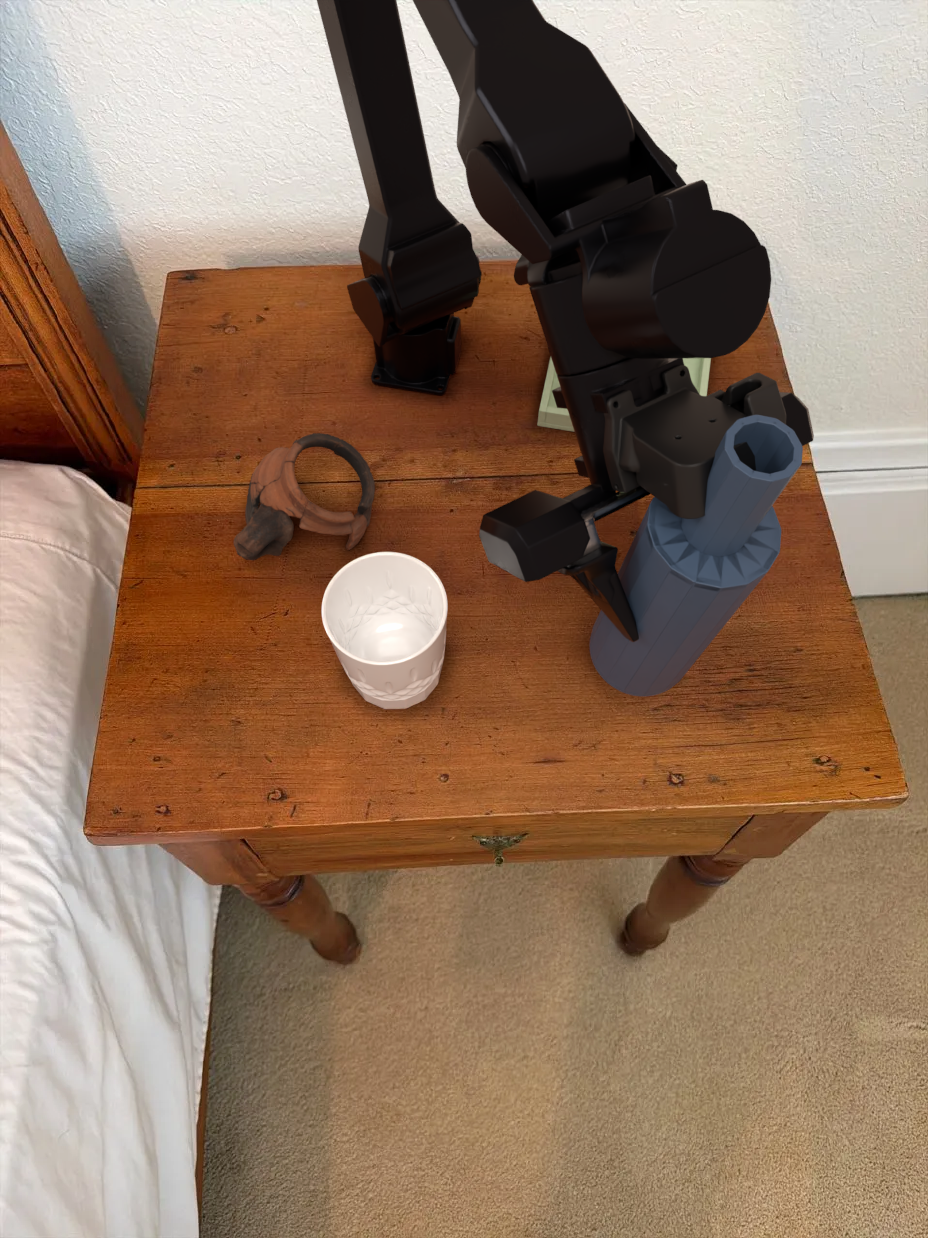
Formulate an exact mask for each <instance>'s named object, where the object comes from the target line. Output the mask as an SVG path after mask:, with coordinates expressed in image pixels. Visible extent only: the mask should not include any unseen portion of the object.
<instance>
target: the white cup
mask: <svg viewBox="0 0 928 1238" xmlns="http://www.w3.org/2000/svg"><path fill="white" fill-rule="evenodd" d="M322 597H323V598H322V600H321V601H322V602H321V611H320V612H321V620H322V625H323V628H324V630H325V633H326V635H327V637H328V639H329V641H330V643H331V645H332V648H333V650H334V653H335V654H336V657H337V659H338V661H339V663H340V665H341V666H342V668H343V670H344V672H345V674H346V676H347V677H348V678H349V681H350V682H351V684H352V686H353V688H354V689H355V690H356V691H357V693H359V695H360V696H361V697H362V698H363V700H364V701H365V702H368V703H370V704H372V705H374V706H376V707H379V708H381V709H384V710H406V709H408V708H411V707H413V706H415V705H417V704H419V703H421V702H424V701H425V700H426V699H427V698H428V697H429V696H430V695H431V694H432V692H433V691H434V690H435V688H436V687H437V686H438V685H439V683H440V677H441V673H442V670H443V665H444V660H445V652H446V641H447V628H448V627H447V626H448V608H449V605H448V602H449V601H448V596H447V592H446V589H445V586H444V584H443V582H442V580H441V578H440V577H439V576H438V575H437V573H436V572H435V571H434V570H433V569H432V568H431V566H429V565H428V564H427V563H425V562H424V561H422V560H420V559H418V558H417V557H415V556H412V555H409V554H407V553H403V552H396V551H378V552H372V553H371V552H370V553H367V554H365V555H362V556H358V557H357V558H355V559H353V560H351V561H350V562H348V563H347V564H345V565H344V566H342V567H341V568H340V569H338V571H337V572H336V573H335V574H334V576H333V577H332V578H331V579H330V581H329V583H328V585H327V586H326V588H325V591H324V594H323V596H322Z"/></svg>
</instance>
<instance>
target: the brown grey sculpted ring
mask: <svg viewBox="0 0 928 1238" xmlns="http://www.w3.org/2000/svg"><path fill="white" fill-rule="evenodd" d="M311 448H323V449H328V450H330V451H332V452H333V454H334V455H336V456H338V457H341V459H343V460H345V461H346V462H347V463H348V464H349V465H350V466H351V468H353V470H354V472H355V473H356V475H357V477H358V479H359V482H360V485H361V497H360V501H359V503H358V505H357V512H356V513H355V514H354V513H353V512H352V511H349V510H347V511H332V510H328V509H325V508H323V507H321V506H319V505H318V504H316V503H314V502H313V501H311V500H309V498H308V497H307V496H306V494H305V493H304V492H303V490H302V488H301V487H300V485H299V483H298V481H297V477H296V472H295V466H296V465H295V464H296V461H297V458H298V457H299V455H300V454H301V453H302V452H303V451H304V450H307V449H311ZM373 476H374V475H373V473H372V471H371V467H370V465H369V464H368V462H367V460H365V458H364V457H363V456H362V453H361V452H360V451H358V450H357V449H356V448H355V447H354V446H353V445H352V444H350V443H348V442H347V441H346V440H344V439H342V438H339V437H338V436H334V435H331V434H329V433H321V432H314V433H311V434H307V435H303V436H302V437H299V439H296V440H294V441H293V443H292V445H291V446H290V447H287V446H286V447H285V446H284V447H283V446H280V447H275V448H274V449H272V450H271V451H270V452H269V453H267V454H266V455H265V456H264V457H262V459H261V460H260V461H259V463H258V465H256V466H255V468H254V470H253V473H252V474H251V477H250V481H249V484H248V490H247V496H246V505H245V510H244V511H245V512H244V516H245V524H246V525H245V526H244V527H243V529H242V530H241V531H240V532H239V533H237V534H236V535H235V536H234V539H233V546H234V548H235V551H236V554H237V555H238V556H239V557H241V558H243V559H244V560H247V561H256V560H258V559H261V557H263V556H267V555H268V556H269V555H270V556H275V557H280V556H282V552H283V549H284V547H286V546H287V545H288V544H289V542H291V540H292V539H293V535H294V529H295V528H294V526H295V525H294V522H293V520H292V519H291V518H290V517H294V518H297V519H299V525H298V526H299V528H300V529H301V530H306V531H308V532H309V531H310V532H313V533H318V534H321V535H333V536H345V535H348V539H347V542H346V544H345V549H346V550H347V551H350V550H352V549H353V548H354V547H356V546H357V545H358V544H359V542H360V541H361V539H362V538H363V537H364V535H365V532H366V530H367V528H368V527H369V526H370V523H371V518H372V517H371V516H372V510H373V509H372V508H373V503H374V501H375V500H374V499H375V493H376V483H375V479H374V477H373Z"/></svg>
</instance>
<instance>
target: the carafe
mask: <svg viewBox="0 0 928 1238" xmlns="http://www.w3.org/2000/svg"><path fill="white" fill-rule="evenodd" d="M743 442H747V444H748V445H749V447H750V449H751V450H752V452H753V454H754V456H755V464H756V471H754V470H752V469H751V468H749V467H748V466H747V465H745V464H744V463H742V462H741V461H740V460H739V458H738V456H737V454H736V452H735V450H734V445H736V444H739V443H743ZM803 450H804V446H802V444H801V443H800V441H799V439H798V437H797V435H796V434H795V432H794V431H793V429H791V428H790V427H788V426H787V425H785V424H784V423H783V422H781V421H780V420H778V419H776V418H772V417H767V416H762V415H752V416H748V417H744V418H740V419H738V420H737V421H736V422H735V423H734V424H733V425H732V426H731V427H730V428H729V429H728V430H727V431H726V433H725V435H724V437H723V439H722V441H721V442H720V444H719V446H718V448H717V450H716V452H715V458H714V461H713V464H712V467H711V470H710V473H709V476H708V482H707V493H706V504H705V516H703V517H700V518H696V519H684V518H681V517H678V516H676V515H675V514H673V513H672V512H671V511H670V510H669V508H668V506H667V505H665V504H664V503H663V502H661V501H660V500H659V499H657V498H656V497H655V496H653V498H652V500H651V501H650V503H649V505H648V507H647V509H646V511H645V513H644V515H643V518H642V519H641V522H640V524H639V526H638V528H637V531H636V532H635V535H634V537H633V540H632V542H631V544H630V546H629V548H628V550H627V552H626V554H625V557H624V559H623V561H622V563H621V565H620V567H619V570H618V571H617V573H618V576H619V579H620V581H621V584H622V587H623V589H624V592H625V594H626V597H627V600H628V602H629V605H630V607H631V610H632V613H633V615H634V618H635V621H636V626H637V630H638V635H639V640H637V641H635V642H632V641H630V640H628V639H626V638H625V637H624V636H623V635H622V633H621V632H620V631H619V630H618V629H617V628H616V626H615V625H614V624H613V623H612V622H611V621H610V619H609V618H608V617H607V616H606V615H605V614H604V613H603V611H602V610H601V609H600V611H599V613H598V615H597V618H596V619H595V622H594V624H593V626H592V629H591V633H590V637H589V645H588V647H589V655H590V660H591V662H592V665H593V666H594V669H595V671H596V672H597V673H598V675H599V676H600V677H601V678H602V679H603V681H604V682H606V684H608V685H609V686H611V687H612V688H613V689H615V690H617V691H619V692H621V693H623V694H626V695H629V696H634V697H642V698H643V697H653V696H657V695H658V696H659V695H661V694H663V693H665V692H667V691H670V690H671V689H672V688H673V687H675V686H676V684H678V683H679V682H681V680H682V679H683V677H684V676H685V675H686V674H687V673H688V672H689V670H690V669H691V668H692V667H693V665H695V663H696V662H697V660H698V659H699V658H700V656H702V655H703V653H704V652H705V651H706V649H707V648H708V646H709V645H710V644H711V643H712V642H713V641H714V640H715V638H716V637H717V636H718V635H719V633H720V632H721V630H722V629H723V628H724V627H725V626H726V625H727V623H728V622H729V621H730V619H731V618H732V617H733V616H734V614H736V612H737V611H738V609H739V608H740V607H741V606H742V605H743V603H744V602H745V601H746V599H748V597H749V596H750V595H751V593H752V592H753V591H754V589H755V588H757V587H758V585H759V584H760V582H761V581H762V580H763V578H764V577H765V576H766V575H767V573H768V572H769V571H770V569H771V567H772V566H773V564H774V563H775V562H776V560H777V558H778V556H779V554H780V552H781V544H782V543H781V542H782V540H781V539H782V526H781V523H780V522H779V519H778V516H777V512H776V509H775V507H773V505H774V504H775V503H776V502H777V500H778V499H779V497H780V495H781V494H783V493H782V492H784V490H785V488H786V487H787V486H788V484H789V483H790V481H792V478H793V477H794V476H795V474H796V473H797V472H798V470H799V469H800V467H801V466H802V464H803V452H804V451H803Z"/></svg>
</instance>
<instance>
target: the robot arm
mask: <svg viewBox="0 0 928 1238" xmlns="http://www.w3.org/2000/svg"><path fill="white" fill-rule="evenodd" d="M412 2H413V4H414V6H415V8H416V10H417V12H418V14H419V16H420V18H421V20H422V22H423V24H424V26H425V29H426V30H427V32H428V34H429V36H430V38H431V40H432V42H433V44H434V46H435V48H436V50H437V52H438V54H439V56H440V58H441V60H442V62H443V64H444V66H445V68H446V70H447V72H448V73H449V76H450V79H451V81H452V84H453V86H454V88H455V91H456V93H457V96H458V100H459V101H458V115H457V131H456V133H457V134H456V148H457V151H458V154H459V156H460V158H461V162H462V163H463V166H464V168H465V176H466V177H465V178H466V182H467V187H468V190H469V194H470V197H471V199H472V202H473V204H474V207H475V209H476V210H477V212H478V214H479V216H480V217H481V218H482V219H483V221H484V222H485V223H486V224H487V225H488V226H489V227H490V228H492V229H493V230H494V231H495V232H496V233H497V234H498V235H499V236H501V238H503V239H504V240H505V241H506V242H507V243H509V245H510V246H511V247H513V248H514V249H515V250H516V251H517V252H518V253H519V254H520V257H519V258H518V260H517V262H516V264H515V268H514V272H513V280H514V282H515V284H516V285H518V286H524V285H528V286H529V292H530V295H531V298H532V301H533V305H534V307H535V311H536V314H537V317H538V320H539V323H540V326H541V330H542V333H543V336H544V338H545V339H544V340H545V343H546V345H547V348H548V352H549V356H550V357H551V358H552V362H553V365H554V368H555V371H556V374H557V378H558V381H559V384H560V387H558V388H556V389H554V390H552V393H553V396H554V399H555V402H556V405H557V408H565V409H568V412H569V416H570V419H571V422H572V425H573V428H574V431H575V432H574V434H575V437H576V441H577V444H578V448H579V450H580V454H581V455H579V456H577V457H576V458H574V459H573V461H574V465H575V468H576V471H577V474H578V476H580V477H583V478H587V479H589V482H590V484H589V485H587V486H584V487H583V488H581V489H579V490H577V491H575V492H572V493H570V494H568V495H566V496H565V497H559V496H556V495H553V494H551V493H547V492H544V491H541V490H538V489H534V490H532V491H529V492H528V493H526V494H524V495H521V496H520V497H519V496H518V497H517V498H515V499H513V500H511V501H509V502H507V503H504V504H503V505H501V506H498V507H496V508H494V509H493V510H491V511H488V512H487V513H484V514H483V515H482V519H481V522H480V526H479V530H478V531H479V533H478V537H479V539H480V542H481V545H482V548H483V550H484V553H485V555H486V556H485V557H486V558H487V561H488V562H489V563H490V564H492V565H494V566H496V567H497V568H499V569H500V570H503V571H505V572H507V573H508V574H510V575H512V576H514V577H515V578H517V579H519V580H521V581H523V582H524V583H529V582H534V581H540V580H542V579H545V578H546V577H548V576H551V574H554V573H556V572H557V573H560V574H561V575H564V576H570V578H572V579H573V580H574V581H575V582H576V583H577V584H578V586H580V587H581V588H582V590H583V591H584V592H585V593H586V594H587V595H588V596H589V598H590V599H591V600H592V601H593V602H594V604H595V605H596V606H597V607H598V608H599V609H600V611H601V610H602V611H603V613H604V614H605V615H606V616H607V617H608V618H609V619H610V621H611V622H612V623H613V624H614V625H615V626H616V628H617V629H618V630H619V631H620V632H621V633H622V635H623V636H624V637H625V638H626V639H628V640H630V641H632V642H635V641H637V640H639V635H638V630H637V626H636V621H635V618H634V615H633V613H632V610H631V607H630V605H629V602H628V600H627V597H626V594H625V592H624V589H623V587H622V584H621V581H620V579H619V576H618V571H617V567H616V562H617V557H618V551H619V548H618V547H617V546H615V545H613V544H609V543H608V542H604V541H602V540H601V539H600V536H599V533H598V532H599V531H598V530H597V527H596V522H597V521H599V520H602V519H603V518H606V517H607V516H610V515H611V514H612V515H613V514H614V513H615V512H618V511H620V510H622V509H624V508H626V507H628V506H630V505H631V504H634V503H635V502H637V501H640V500H642V499H643V498H646V497H647V496H650V495H652V496H653V497H656V498H657V499H659V500H660V501H661V502H663V503H664V504H665V505H667V506H668V508H669V510H670V511H671V512H672V513H673V514H675V515H676V516H678V517H681V518H684V519H696V518H700V517H703V516H705V504H706V493H707V482H708V476H709V473H710V470H711V467H712V464H713V461H714V458H715V452H716V450H717V448H718V446H719V444H720V442H721V441H722V439H723V437H724V435H725V433H726V431H727V430H728V429H729V428H730V427H731V426H732V425H733V424H734V423H735V422H736V421H737V420H738V419H740V418H744V417H748V416H752V415H762V416H767V417H772V418H776V419H778V420H780V421H781V422H783V423H784V424H785V425H787V426H788V427H790V428H791V429H793V431H794V432H795V434H796V435H797V437H798V439H799V441H800V443H801V444H802V447H804V446H805V445H808V444H810V443H812V442H814V436H815V435H814V430H813V424H812V421H811V415H810V411H809V408H808V407H807V405H805V403H804V402H803V401H802V400H801V399H800V398H799V397H798V396H797V395H796V394H795V393H793V392H783V391H782V392H781V391H780V389H779V386H778V382H777V380H776V379H773V378H771V377H769V376H767V375H765V374H763V373H761V372H754V373H753V374H751V375H749V376H746V377H744V378H742V379H740V380H738V381H736V382H734V383H731V384H729V386H727V388H726V389H725V391H724V390H723V389H718V390H716V391H714V392H712V393H710V394H707V396H701V395H700V394H699V393H698V391H697V389H696V388H695V386H694V385H693V383H692V381H691V377H690V373H689V369H688V368H687V367H686V366H685V365H684V362H683V358H711V359H714V358H718V357H724V356H727V355H729V354H731V353H733V352H735V351H737V350H738V349H739V348H741V346H743V345H744V344H745V343H747V342H748V341H749V339H750V338H751V337H752V336H753V335H754V333H755V332H756V331H757V329H758V328H759V326H760V323H761V322H762V320H763V318H764V316H765V314H766V310H767V308H768V304H769V300H770V297H771V287H772V286H771V285H772V271H771V261H770V256H769V254H768V250H767V247H766V246H765V245H763V244H761V242H760V240H759V238H758V237H757V235H756V233H755V231H753V229H752V228H751V227H750V225H748V224H747V223H746V222H745V220H743V219H741V218H740V217H738V216H737V215H735V214H733V213H731V212H728V211H724V210H720V209H714V208H713V204H712V198H711V195H710V190H709V186H708V183H707V182H706V181H705V180H704V179H700V180H697V181H694V182H690V183H686V181H685V180H684V179H683V178H682V176H681V175H680V174H679V173H678V164H677V163H676V162H675V161H674V160H673V159H672V158H671V157H670V156H669V155H668V154H666V152H665V151H663V150H662V149H661V148H660V147H659V146H658V145H657V143H656V142H655V141H654V140H653V138H652V137H651V135H650V134H649V133H648V131H647V130H646V129H645V128H644V126H643V125H642V124H641V122H640V120H639V119H637V117H636V116H635V114H634V113H633V112H632V111H631V109H630V108H629V107H628V105H627V104H626V103H625V102H624V100H623V98H622V97H621V95H620V94H619V91H618V90H617V88H616V87H615V85H614V84H613V82H612V81H611V79H610V77H609V76H608V75H607V73H606V71H605V70H604V68H603V67H602V65H601V63H600V62H599V61H598V60H597V58H596V56H595V55H594V53H593V52H592V50H591V49H590V47H588V46H587V45H586V44H584V43H583V42H581V41H579V40H577V39H576V38H574V37H572V35H570V34H568V33H566V32H565V31H562V30H561V29H559V28H558V27H556V26H554V25H553V24H551V23H549V22H548V21H547V20H546V19H545V17H544V15H543V14H542V12H541V11H540V9H539V8H538V6H537V4H536V3H535V2H534V0H412ZM316 3H317V8H318V11H319V14H320V19H321V23H322V26H323V30H324V34H325V37H326V42H327V46H328V49H329V53H330V57H331V61H332V65H333V69H334V73H335V76H336V80H337V85H338V89H339V92H340V96H341V99H342V105H343V108H344V112H345V116H346V119H347V123H348V127H349V131H350V135H351V139H352V142H353V146H354V150H355V154H356V158H357V162H358V166H359V169H360V173H361V178H362V182H363V185H364V189H365V192H366V197H367V201H368V209H367V214H366V217H365V220H364V224H363V227H362V232H361V235H360V239H359V242H358V247H357V248H358V254H359V258H360V259H359V260H360V263H361V268H362V272H363V278H361V279H359V280H356V281H354V282H351V283H349V284H346V288H347V292H348V294H349V295H348V296H349V299H350V303H351V306H352V310H353V311H354V312H355V314H356V315H357V317H358V319H359V320H360V322H361V323H362V324H363V326H364V327H365V328H366V330H367V332H368V333H369V335H370V336H371V337H372V342H373V349H374V356H375V363H374V366H373V369H372V372H371V375H370V380H371V383H372V384H373V385H376V386H381V387H388V388H393V389H399V390H400V389H401V390H407V391H411V392H416V393H417V392H419V393H424V394H431V395H436V396H443V395H445V394H446V392H447V390H448V386H449V382H450V378H451V376H453V375H455V374H456V372H457V368H458V365H459V361H460V357H461V354H462V319H461V318H460V316H455V313H457V312H460V311H462V310H467V309H470V308H471V307H472V306H473V303H474V301H475V299H476V298H477V297H478V296H479V293H480V285H481V282H482V277H483V274H482V270H481V265H480V258H479V256H478V255H477V254H476V251H475V250H474V246H473V245H474V244H473V238H472V233H471V231H470V230H469V228H468V227H467V226H466V225H465V224H464V223H462V222H460V221H459V220H458V219H457V218H456V217H455V216H454V214H452V212H451V211H450V210H449V209H448V208H447V207H446V206H445V205H444V204H443V202H441V201H440V199H439V198H438V196H437V191H436V187H435V183H434V177H433V172H432V168H431V164H430V157H429V153H428V149H427V143H426V138H425V134H424V128H423V123H422V119H421V113H420V110H419V109H420V108H419V103H418V99H417V94H416V90H415V85H414V79H413V75H412V70H411V66H410V65H411V64H410V60H409V54H408V51H407V45H406V41H405V36H404V30H403V27H402V21H401V16H400V11H399V6H398V2H397V0H316ZM734 450H735V452H736V454H737V456H738V458H739V460H740V461H741V462H742V463H744V464H745V465H747V466H748V467H749V468H751V469H752V470H754V471H756V464H755V456H754V454H753V452H752V450H751V449H750V447H749V445H748V444H747V442H743V443H739V444H736V445H734Z"/></svg>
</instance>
